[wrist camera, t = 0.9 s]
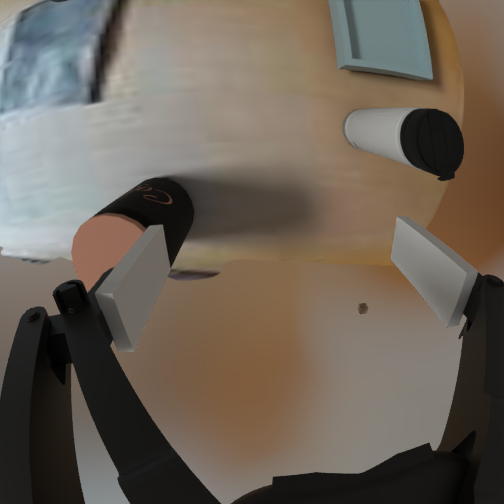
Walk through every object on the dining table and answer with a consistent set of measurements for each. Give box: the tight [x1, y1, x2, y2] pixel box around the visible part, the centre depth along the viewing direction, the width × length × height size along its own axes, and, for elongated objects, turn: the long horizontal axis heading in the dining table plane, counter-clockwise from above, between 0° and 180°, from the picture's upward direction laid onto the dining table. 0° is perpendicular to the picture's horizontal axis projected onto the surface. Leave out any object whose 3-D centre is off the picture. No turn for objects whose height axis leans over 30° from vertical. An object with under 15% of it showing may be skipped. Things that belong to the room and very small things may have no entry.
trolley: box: [328, 0, 433, 81], centre depth 23 cm, size 18×14×12 cm
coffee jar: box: [71, 178, 194, 291], centre depth 33 cm, size 11×11×18 cm
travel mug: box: [343, 108, 464, 181], centre depth 27 cm, size 6×7×20 cm
